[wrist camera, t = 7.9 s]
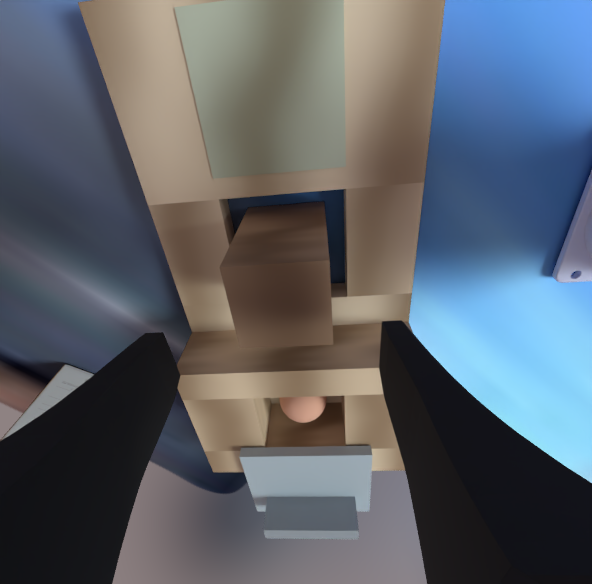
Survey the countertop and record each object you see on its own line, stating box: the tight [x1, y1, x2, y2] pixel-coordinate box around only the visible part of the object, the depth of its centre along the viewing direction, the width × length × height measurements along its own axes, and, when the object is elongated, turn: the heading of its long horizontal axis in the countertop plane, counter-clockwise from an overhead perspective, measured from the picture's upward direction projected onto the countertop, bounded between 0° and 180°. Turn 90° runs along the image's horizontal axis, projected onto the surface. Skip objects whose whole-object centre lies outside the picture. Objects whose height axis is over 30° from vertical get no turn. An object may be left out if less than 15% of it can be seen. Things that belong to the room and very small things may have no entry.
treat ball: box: [279, 396, 327, 423], centre depth 21 cm, size 3×3×3 cm
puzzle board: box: [78, 0, 445, 472], centre depth 17 cm, size 13×25×5 cm, turn 6°
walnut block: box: [219, 201, 333, 349], centre depth 16 cm, size 4×4×6 cm
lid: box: [239, 446, 372, 539], centre depth 21 cm, size 8×7×3 cm
